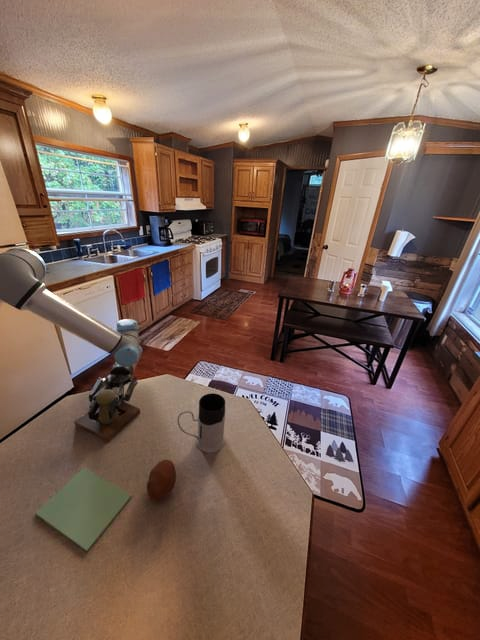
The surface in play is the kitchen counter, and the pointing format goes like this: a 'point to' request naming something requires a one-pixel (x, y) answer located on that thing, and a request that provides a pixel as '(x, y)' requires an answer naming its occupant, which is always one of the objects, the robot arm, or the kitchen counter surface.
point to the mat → (84, 508)
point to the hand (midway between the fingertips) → (100, 415)
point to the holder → (113, 429)
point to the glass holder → (209, 423)
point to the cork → (106, 407)
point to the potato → (161, 480)
